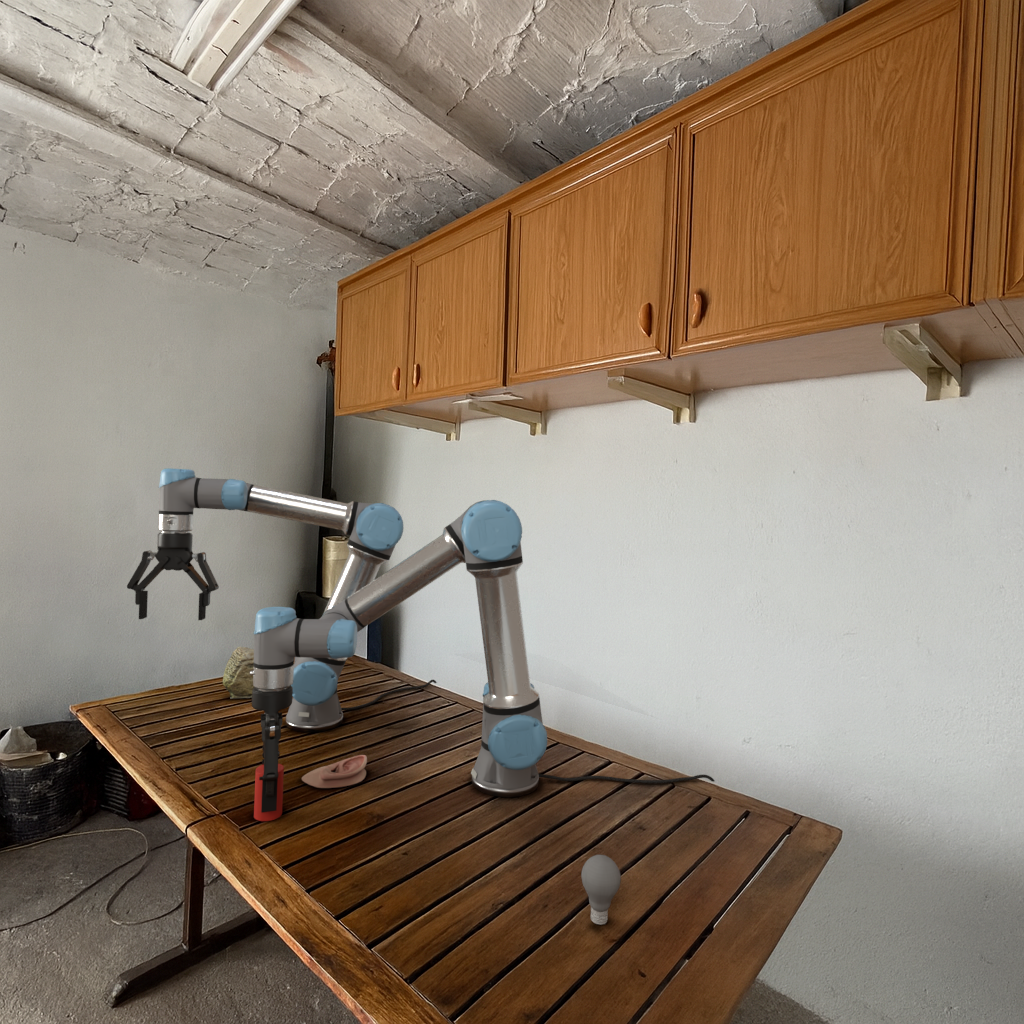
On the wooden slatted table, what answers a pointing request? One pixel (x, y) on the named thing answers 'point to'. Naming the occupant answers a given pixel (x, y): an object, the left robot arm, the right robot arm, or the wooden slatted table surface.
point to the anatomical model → (338, 773)
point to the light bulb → (600, 885)
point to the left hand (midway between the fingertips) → (172, 618)
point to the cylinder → (258, 795)
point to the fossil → (239, 673)
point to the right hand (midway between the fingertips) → (268, 800)
